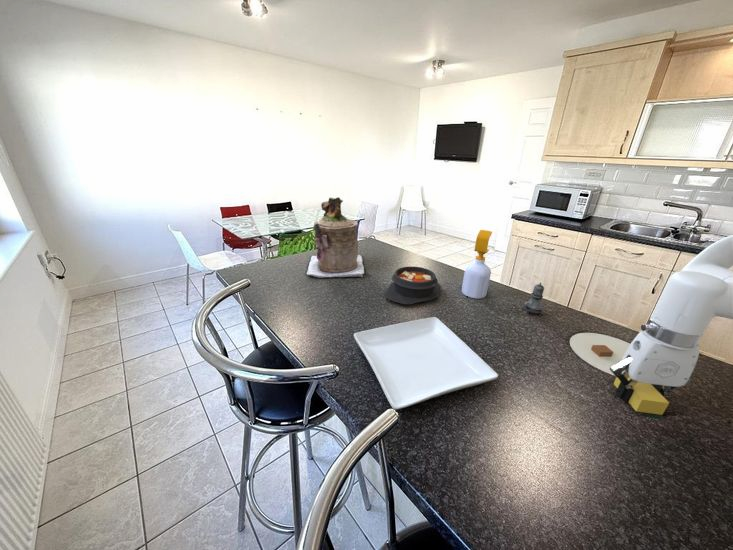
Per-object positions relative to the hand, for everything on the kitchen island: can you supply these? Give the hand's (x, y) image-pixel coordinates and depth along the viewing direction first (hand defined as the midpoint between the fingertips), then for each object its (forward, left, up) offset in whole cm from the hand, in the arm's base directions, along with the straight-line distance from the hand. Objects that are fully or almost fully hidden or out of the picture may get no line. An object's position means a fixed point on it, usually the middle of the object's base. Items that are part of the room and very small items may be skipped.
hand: (635, 399), depth 66 cm
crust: (-1, -16, 0) cm, 16 cm away
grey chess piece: (+10, -36, -1) cm, 37 cm away
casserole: (+50, -43, -1) cm, 66 cm away
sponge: (0, 0, -1) cm, 1 cm away
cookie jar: (+85, -62, -1) cm, 105 cm away
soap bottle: (+27, -48, -1) cm, 55 cm away
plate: (-4, -16, -1) cm, 17 cm away
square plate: (+48, -4, -1) cm, 48 cm away
